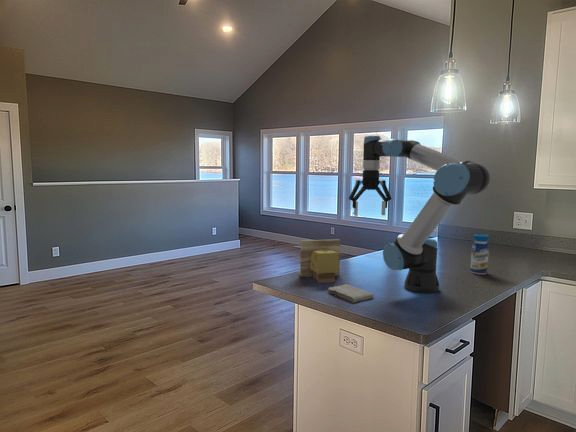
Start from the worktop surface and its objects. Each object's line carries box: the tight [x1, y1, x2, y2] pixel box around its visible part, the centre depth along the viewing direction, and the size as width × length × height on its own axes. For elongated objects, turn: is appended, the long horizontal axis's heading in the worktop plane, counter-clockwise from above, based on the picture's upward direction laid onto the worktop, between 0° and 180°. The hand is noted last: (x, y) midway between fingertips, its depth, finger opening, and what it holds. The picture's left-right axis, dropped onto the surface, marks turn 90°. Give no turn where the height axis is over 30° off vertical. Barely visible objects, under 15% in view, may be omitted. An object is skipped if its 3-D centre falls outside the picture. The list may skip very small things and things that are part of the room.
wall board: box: [298, 239, 341, 284], centre depth 204 cm, size 16×20×18 cm
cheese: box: [310, 249, 338, 274], centre depth 201 cm, size 10×11×10 cm
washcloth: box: [326, 283, 374, 303], centre depth 178 cm, size 12×18×3 cm, turn 35°
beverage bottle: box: [469, 233, 490, 275], centre depth 217 cm, size 8×8×20 cm
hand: (369, 215), depth 196 cm, fingers open, 13 cm apart
